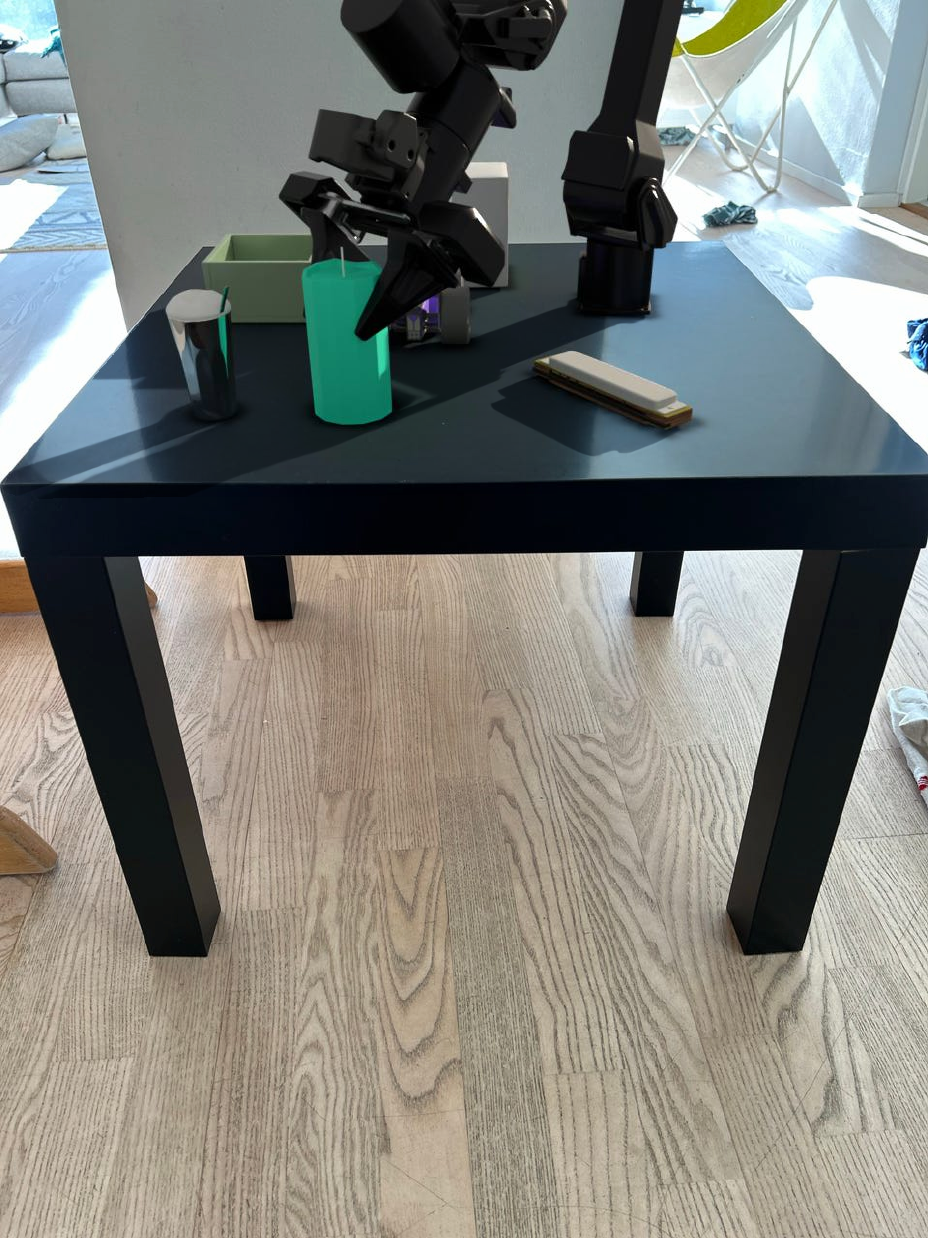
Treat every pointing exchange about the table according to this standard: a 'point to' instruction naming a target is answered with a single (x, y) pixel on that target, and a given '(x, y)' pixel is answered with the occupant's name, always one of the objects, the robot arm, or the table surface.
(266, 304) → the open green box
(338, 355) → the candle
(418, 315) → the toy race car
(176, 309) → the milkshake
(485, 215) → the small box
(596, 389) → the harmonica
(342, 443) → the table surface
